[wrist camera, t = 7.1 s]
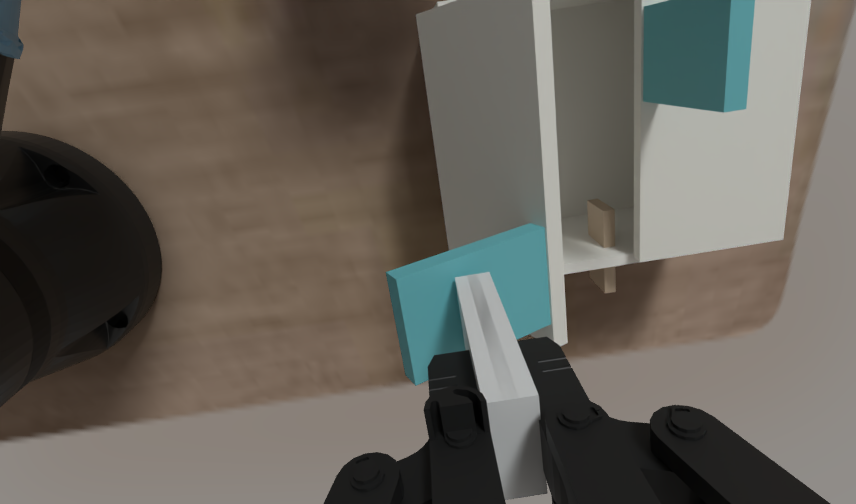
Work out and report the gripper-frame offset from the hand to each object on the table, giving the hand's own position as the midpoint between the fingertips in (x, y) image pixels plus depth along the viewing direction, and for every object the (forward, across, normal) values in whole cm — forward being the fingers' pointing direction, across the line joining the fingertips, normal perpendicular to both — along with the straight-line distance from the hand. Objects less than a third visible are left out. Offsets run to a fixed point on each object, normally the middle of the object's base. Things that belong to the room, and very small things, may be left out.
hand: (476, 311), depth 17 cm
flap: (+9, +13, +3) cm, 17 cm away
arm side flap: (+6, +2, +3) cm, 7 cm away
